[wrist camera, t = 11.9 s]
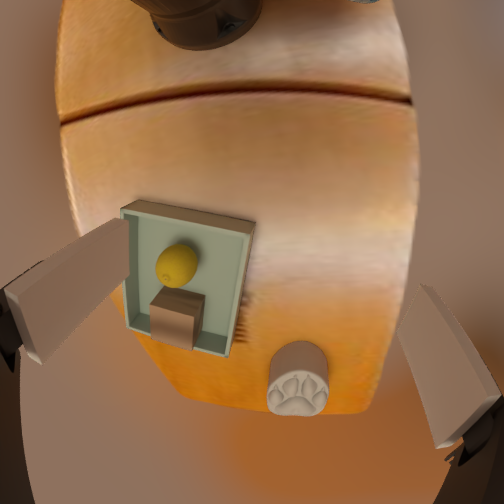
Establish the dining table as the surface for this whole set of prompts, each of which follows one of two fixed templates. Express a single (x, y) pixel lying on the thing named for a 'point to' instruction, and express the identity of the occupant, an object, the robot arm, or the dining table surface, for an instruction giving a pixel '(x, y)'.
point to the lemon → (176, 265)
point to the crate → (208, 271)
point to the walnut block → (177, 317)
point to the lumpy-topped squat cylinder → (298, 380)
